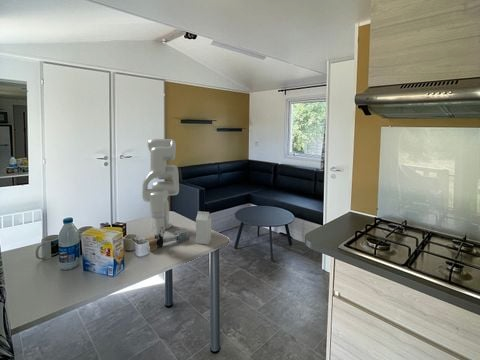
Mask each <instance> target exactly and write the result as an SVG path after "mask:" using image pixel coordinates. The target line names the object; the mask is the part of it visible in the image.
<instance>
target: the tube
mask: <svg viewBox="0 0 480 360" xmlns="http://www.w3.org/2000/svg"><path fill="white" fill-rule="evenodd" d="M159 234H160V233H159ZM159 236H161V235H159ZM154 237H156V240H157V239H158V235H156V234H155V236H154ZM175 240H178V235H177V234H176V235H175V234H172V235H169V236H164V237H163V244H167V243H170V242H175ZM161 247H163V245H160V246H158V245H157V248H161Z"/></svg>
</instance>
